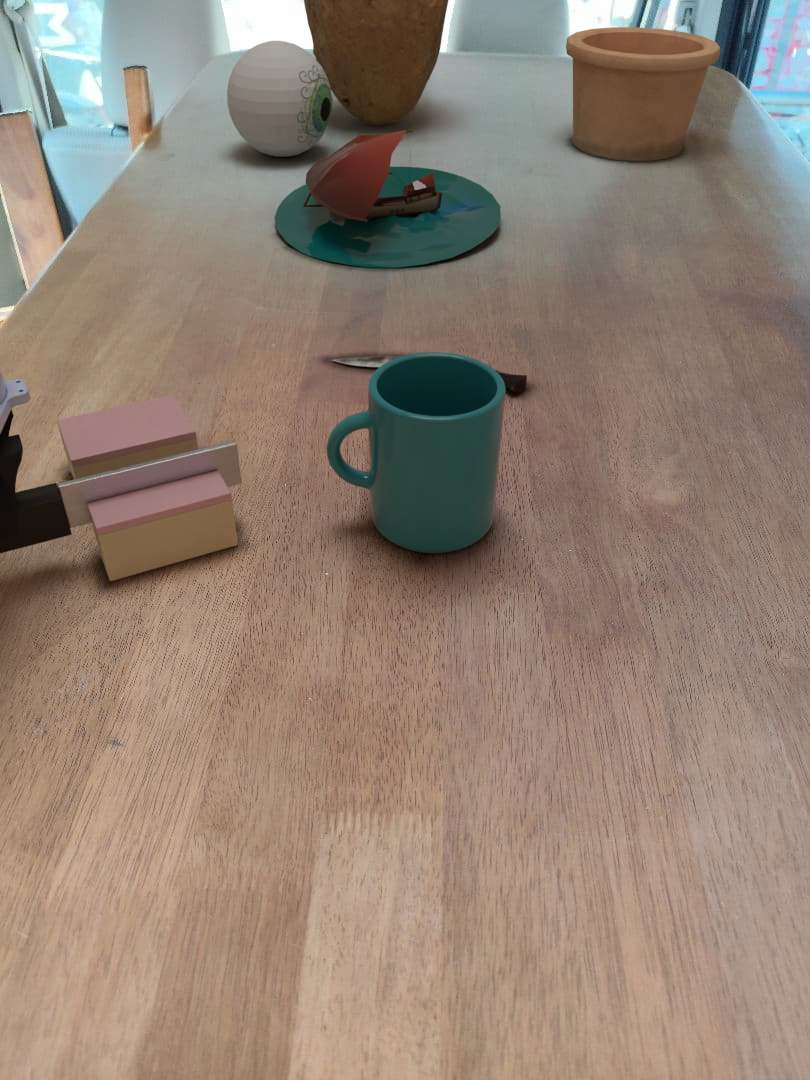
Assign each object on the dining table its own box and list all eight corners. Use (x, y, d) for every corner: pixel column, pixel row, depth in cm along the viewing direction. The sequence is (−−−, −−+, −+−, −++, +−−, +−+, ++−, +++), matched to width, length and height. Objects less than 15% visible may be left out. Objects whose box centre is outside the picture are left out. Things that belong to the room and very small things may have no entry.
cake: (85, 512, 66) (71, 460, 64) (70, 470, 71) (56, 419, 68) (203, 481, 70) (195, 431, 67) (182, 443, 74) (174, 393, 71)
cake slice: (110, 582, 61) (95, 528, 58) (100, 555, 63) (86, 503, 60) (238, 545, 64) (231, 492, 61) (225, 521, 66) (218, 469, 63)
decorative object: (293, 177, 126) (285, 58, 117) (211, 158, 132) (198, 44, 123) (354, 150, 136) (351, 39, 127) (275, 135, 142) (267, 27, 133)
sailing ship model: (256, 197, 120) (243, 109, 112) (453, 166, 125) (455, 80, 118) (306, 297, 100) (295, 200, 93) (536, 255, 106) (545, 160, 98)
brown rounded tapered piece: (469, 116, 152) (478, -61, 136) (415, 152, 136) (419, -44, 120) (349, 100, 159) (345, -70, 143) (285, 133, 143) (273, -55, 127)
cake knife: (-58, 569, 57) (-76, 527, 55) (-61, 550, 58) (-78, 509, 56) (245, 489, 64) (240, 448, 62) (236, 474, 65) (231, 434, 63)
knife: (322, 364, 82) (337, 343, 86) (323, 378, 83) (338, 357, 87) (524, 383, 79) (530, 360, 83) (523, 397, 80) (529, 374, 84)
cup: (333, 482, 70) (327, 350, 63) (488, 482, 70) (499, 351, 63) (326, 557, 63) (318, 419, 56) (498, 558, 63) (512, 420, 56)
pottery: (696, 173, 129) (719, 62, 120) (544, 158, 134) (555, 50, 125) (701, 133, 145) (722, 32, 136) (565, 120, 150) (577, 22, 141)
